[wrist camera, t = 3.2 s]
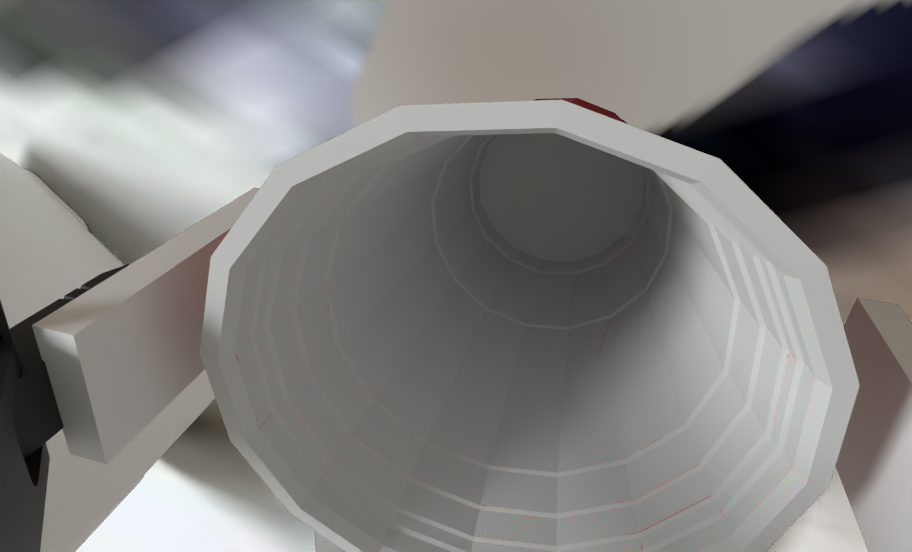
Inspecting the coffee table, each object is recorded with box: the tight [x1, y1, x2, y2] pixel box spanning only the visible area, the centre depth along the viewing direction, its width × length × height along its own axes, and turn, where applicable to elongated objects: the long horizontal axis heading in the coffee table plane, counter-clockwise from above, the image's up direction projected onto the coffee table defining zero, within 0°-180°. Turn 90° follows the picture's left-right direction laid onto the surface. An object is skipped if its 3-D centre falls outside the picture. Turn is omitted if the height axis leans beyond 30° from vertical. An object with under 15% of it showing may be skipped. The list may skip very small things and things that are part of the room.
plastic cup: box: [200, 98, 860, 552], centre depth 15 cm, size 11×11×12 cm
